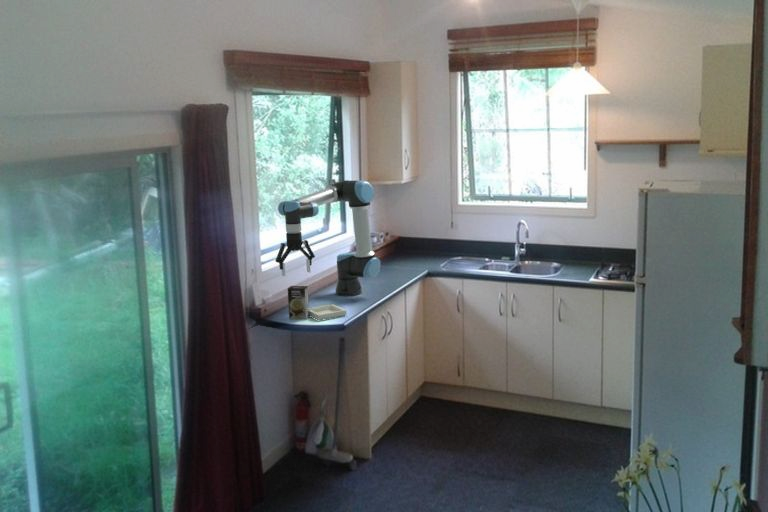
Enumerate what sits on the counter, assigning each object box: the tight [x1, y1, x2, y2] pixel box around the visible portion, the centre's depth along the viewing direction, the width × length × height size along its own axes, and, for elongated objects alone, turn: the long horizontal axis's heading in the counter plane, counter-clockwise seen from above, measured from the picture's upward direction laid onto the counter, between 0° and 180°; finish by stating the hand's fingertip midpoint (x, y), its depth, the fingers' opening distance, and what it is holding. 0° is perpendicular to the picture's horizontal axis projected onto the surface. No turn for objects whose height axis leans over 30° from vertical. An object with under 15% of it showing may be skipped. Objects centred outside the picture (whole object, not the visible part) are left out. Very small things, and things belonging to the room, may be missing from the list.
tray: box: [309, 303, 347, 321], centre depth 378 cm, size 15×15×3 cm
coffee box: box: [287, 285, 310, 320], centre depth 374 cm, size 9×6×16 cm
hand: (296, 274), depth 371 cm, fingers open, 13 cm apart
